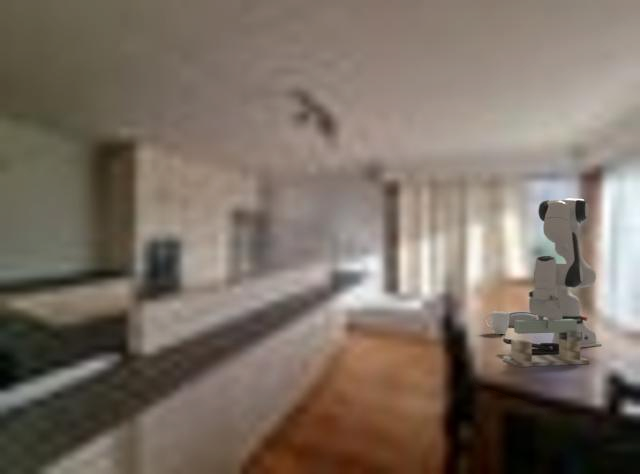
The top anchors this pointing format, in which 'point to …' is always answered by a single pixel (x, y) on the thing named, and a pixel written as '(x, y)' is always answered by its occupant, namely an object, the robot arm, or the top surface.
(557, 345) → the zipper pull
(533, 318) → the grey curved block
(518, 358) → the rail posts
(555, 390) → the top surface
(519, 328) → the rail
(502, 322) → the mug
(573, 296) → the robot arm
